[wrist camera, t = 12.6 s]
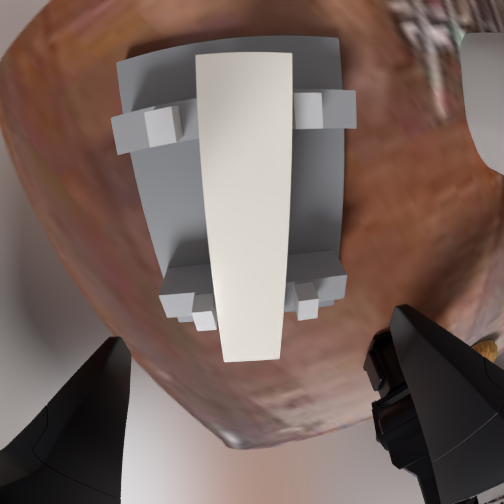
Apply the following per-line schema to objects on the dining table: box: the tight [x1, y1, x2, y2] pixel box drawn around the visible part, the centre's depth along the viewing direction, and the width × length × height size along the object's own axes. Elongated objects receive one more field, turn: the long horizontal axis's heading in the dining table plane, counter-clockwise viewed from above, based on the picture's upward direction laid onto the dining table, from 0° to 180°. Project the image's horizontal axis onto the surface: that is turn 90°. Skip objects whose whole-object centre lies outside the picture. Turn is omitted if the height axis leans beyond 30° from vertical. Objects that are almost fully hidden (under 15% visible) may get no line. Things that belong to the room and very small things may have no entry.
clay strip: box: [195, 52, 292, 362], centre depth 13 cm, size 16×3×3 cm, turn 1°
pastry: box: [472, 340, 497, 362], centre depth 33 cm, size 9×7×4 cm
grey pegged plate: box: [111, 35, 357, 331], centre depth 16 cm, size 20×13×6 cm, turn 5°
